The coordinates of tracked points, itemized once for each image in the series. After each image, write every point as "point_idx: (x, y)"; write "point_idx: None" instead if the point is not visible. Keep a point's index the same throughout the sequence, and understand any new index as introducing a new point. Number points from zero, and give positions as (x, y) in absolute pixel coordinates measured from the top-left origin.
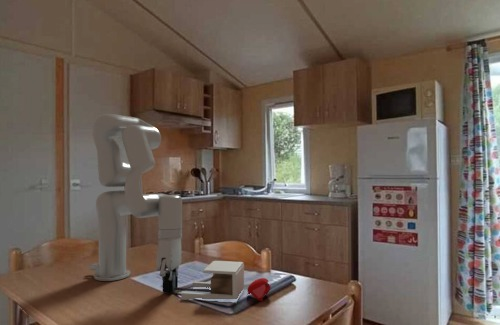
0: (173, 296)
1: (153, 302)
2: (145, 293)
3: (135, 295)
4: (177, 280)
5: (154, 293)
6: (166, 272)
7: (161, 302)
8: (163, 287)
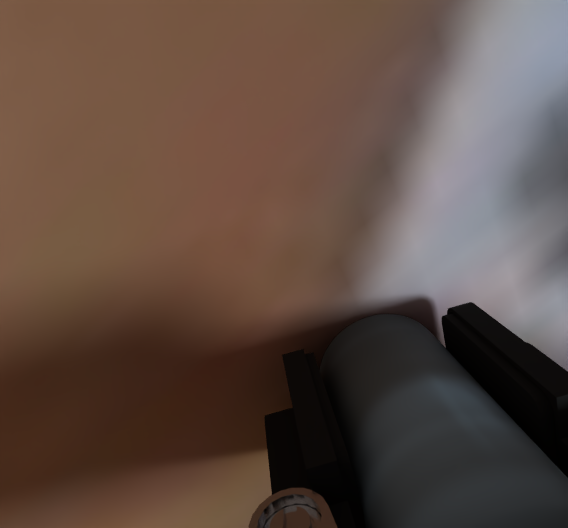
0: None
1: (11, 420)
2: (199, 100)
3: (53, 9)
4: None
5: (259, 222)
6: (528, 516)
7: (65, 489)
8: (291, 397)
